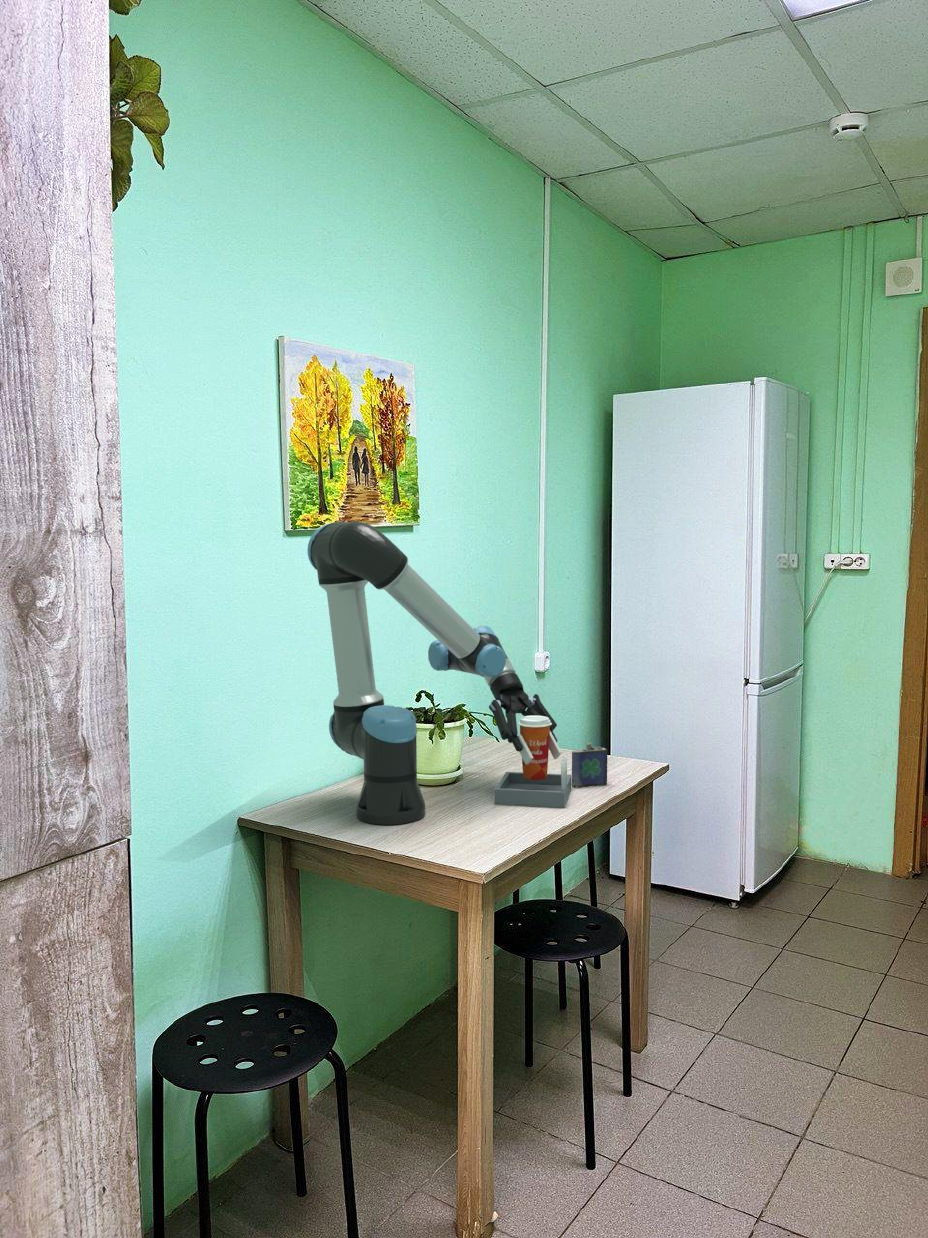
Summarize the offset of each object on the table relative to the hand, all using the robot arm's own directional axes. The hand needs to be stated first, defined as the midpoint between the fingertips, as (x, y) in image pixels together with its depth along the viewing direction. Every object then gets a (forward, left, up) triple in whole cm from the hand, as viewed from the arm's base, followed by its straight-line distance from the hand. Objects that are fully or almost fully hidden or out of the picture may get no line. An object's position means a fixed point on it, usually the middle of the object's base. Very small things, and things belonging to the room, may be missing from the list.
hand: (544, 758), depth 212 cm
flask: (+9, +14, -10) cm, 20 cm away
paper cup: (-2, +2, -5) cm, 6 cm away
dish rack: (-3, +2, -10) cm, 10 cm away
